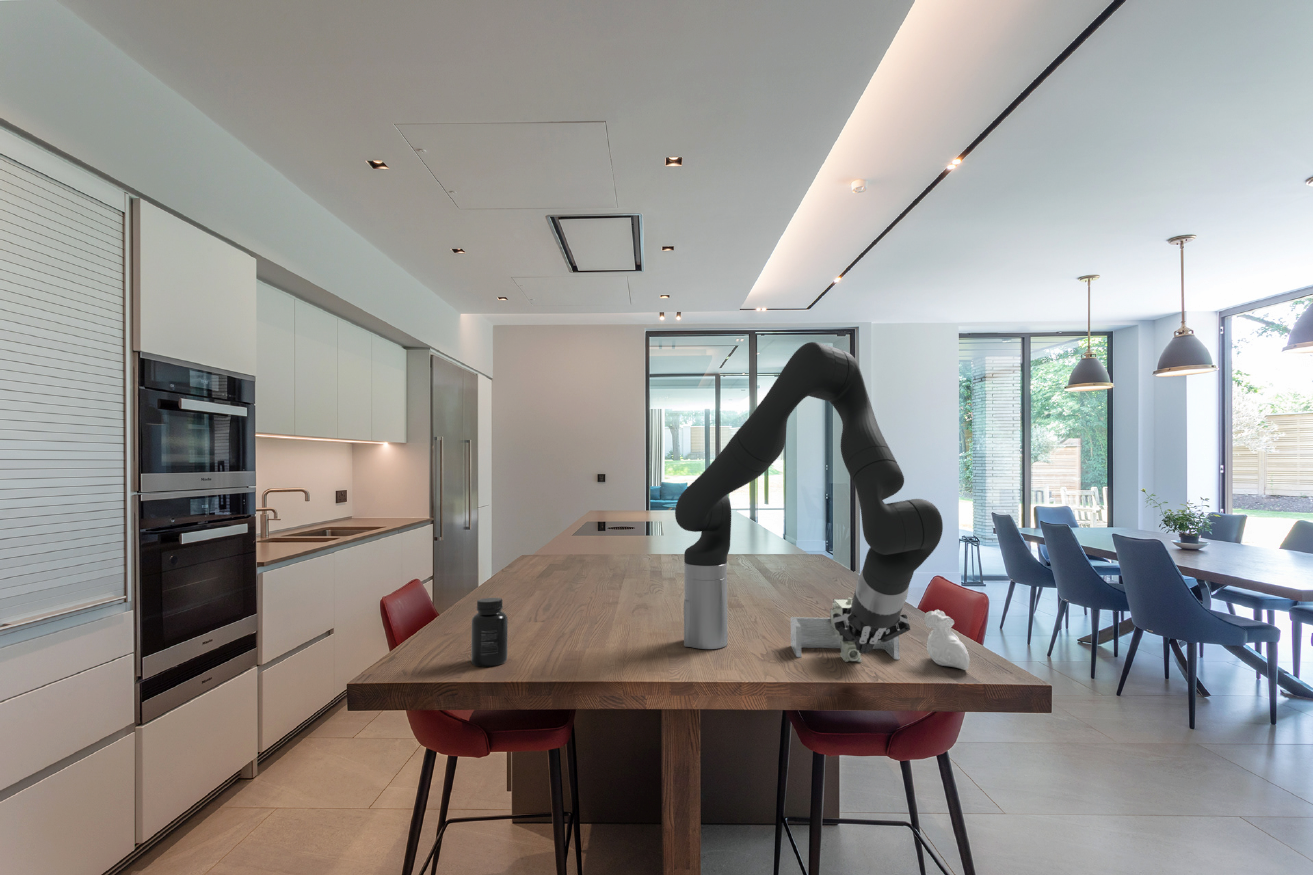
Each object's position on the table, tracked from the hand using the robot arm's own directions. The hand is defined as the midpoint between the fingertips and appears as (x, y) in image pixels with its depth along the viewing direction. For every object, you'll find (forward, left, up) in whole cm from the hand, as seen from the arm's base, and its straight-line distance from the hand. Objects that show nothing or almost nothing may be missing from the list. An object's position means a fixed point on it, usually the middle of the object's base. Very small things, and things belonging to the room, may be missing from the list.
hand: (862, 648), depth 109 cm
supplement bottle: (-70, +4, -5) cm, 70 cm away
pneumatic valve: (0, +11, -6) cm, 13 cm away
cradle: (0, +16, -5) cm, 17 cm away
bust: (+18, +10, -6) cm, 21 cm away
